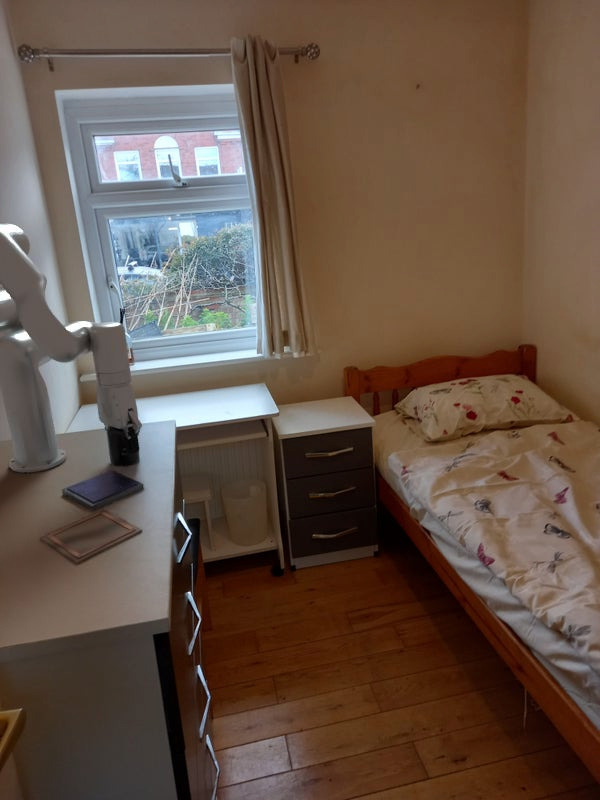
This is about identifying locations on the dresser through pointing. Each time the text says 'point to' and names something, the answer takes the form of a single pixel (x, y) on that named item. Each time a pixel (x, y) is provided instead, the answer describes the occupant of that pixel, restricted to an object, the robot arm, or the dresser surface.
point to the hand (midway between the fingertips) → (124, 448)
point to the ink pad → (102, 490)
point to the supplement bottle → (119, 447)
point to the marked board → (90, 535)
